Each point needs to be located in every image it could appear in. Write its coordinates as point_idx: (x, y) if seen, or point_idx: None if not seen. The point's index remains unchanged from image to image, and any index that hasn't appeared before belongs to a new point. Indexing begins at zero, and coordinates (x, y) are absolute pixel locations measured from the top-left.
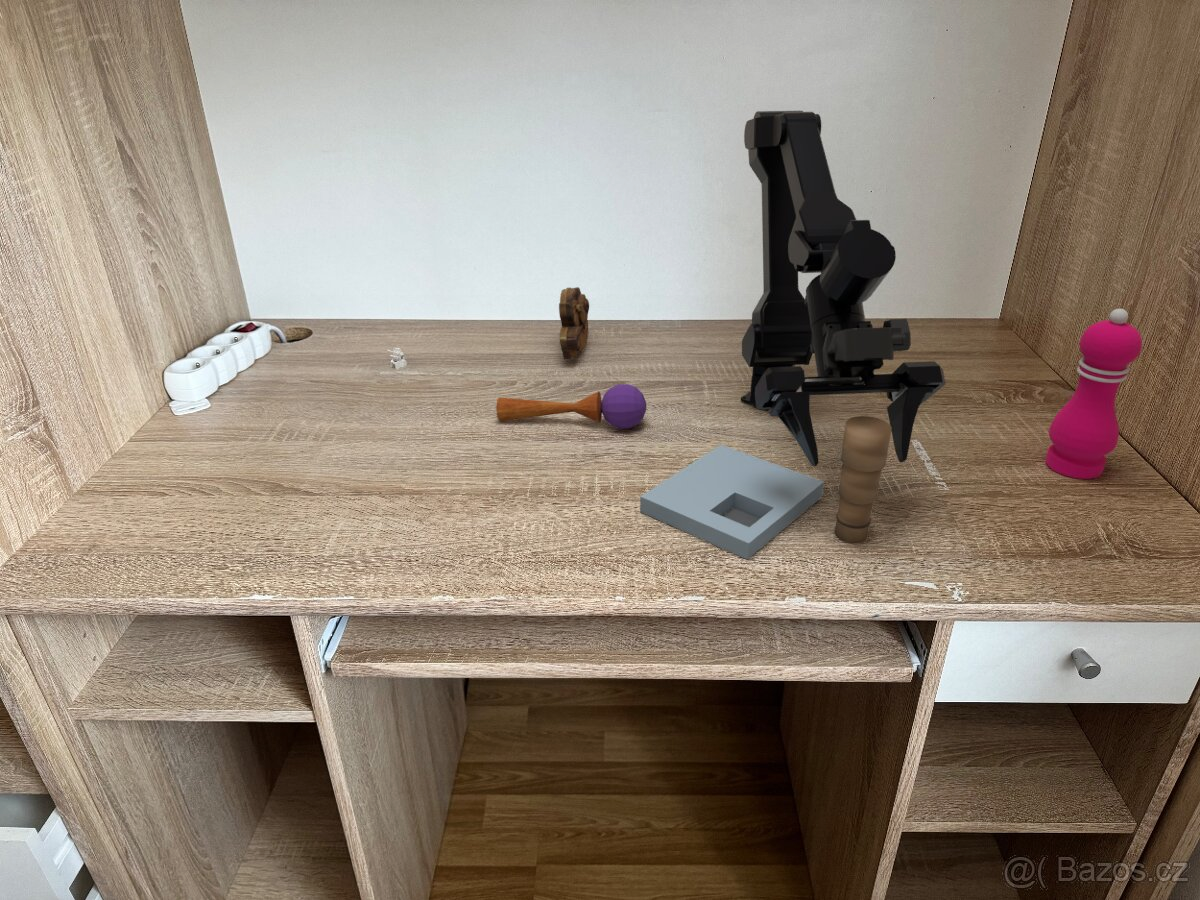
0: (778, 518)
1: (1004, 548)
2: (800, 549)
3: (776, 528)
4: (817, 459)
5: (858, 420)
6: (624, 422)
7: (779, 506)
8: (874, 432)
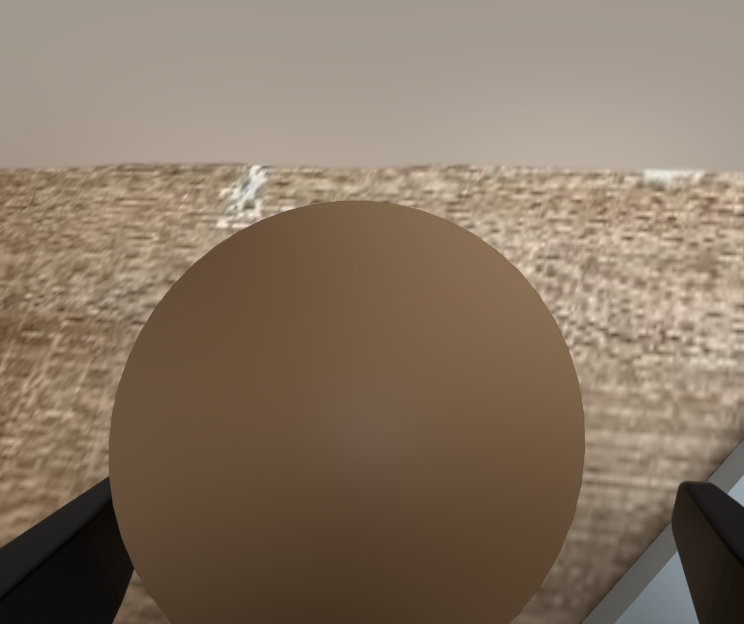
0: None
1: (26, 360)
2: (617, 399)
3: None
4: (699, 490)
5: (392, 571)
6: None
7: None
8: (332, 265)
